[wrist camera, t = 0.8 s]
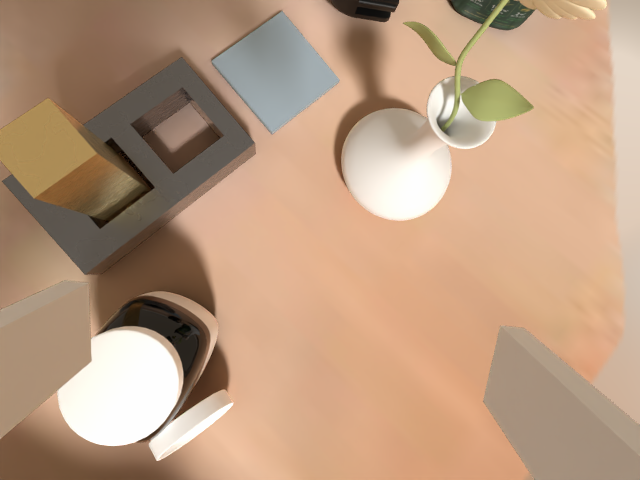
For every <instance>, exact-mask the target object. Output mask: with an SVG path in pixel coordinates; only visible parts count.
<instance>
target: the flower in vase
mask: <svg viewBox="0 0 640 480" xmlns="http://www.w3.org/2000/svg"><path fill="white" fill-rule="evenodd" d="M508 1H509V0H501V1H500V3H499V4H498V5H497V6H496V8H495V9H494V10H493V12H492V13H491V14H490V16H489V17H488V18H487V19H486V21H485V22H484V23H483V25H482V26H481V27H480V29H479V30H478V31H477V32H476V34H475V35H474V36H473V38H472V39H471V40H470V41H469V43H468V44H467V45H466V47H465V48H464V49H463V51H462V52H461V54H460V56H459V58H458V60H457V63H456V61H455V60H454V58H453V57H452V56H451V55H450V53H449V52H448V51H447V49H446V48H445V47H444V45H443V44H442V42H441V41H440V40H439V39H438V37H437V36H436V35H435V34H434V33H433V32H432V31H431V30H430V29H429V28H427V27H426V26H425V25H423V24H421V23H417V22H405V23H403V24H405V25H407V26H408V27H410V28H412V29H413V30H414V31H416V32H417V33H418V34H419V35H420V36H421V38H422V39H423V40H424V41H425V43H426V44H427V45H428V47H429V48H430V50H431V51H432V52H433V54H434V55H435V56H436V57H437V58H438V59H439V60H441V61H443V62H445V63H447V64H450V65H453V66H456V68H455V76H452V77H448V78H446V79H444V80H442V81H440V82H439V83H438V84H437V85H436V86H435V87H434V88H433V90H432V91H431V93H430V95H429V98H428V102H427V117H428V119H427V118H426V117H424V116H422V115H421V114H419V113H417V112H414V111H411V110H408V109H402V108H388V109H383V110H379V111H375V112H373V113H370V114H368V115H367V116H365V117H363V118H362V119H361V120H359V121H358V122H357V123H356V124H355V125H354V126H353V128H352V129H351V131H350V132H349V134H348V135H347V137H346V140H345V142H344V145H343V149H342V156H341V168H342V173H343V177H344V180H345V183H346V185H347V187H348V190H349V191H350V193H351V194H352V196H353V197H354V198H355V200H356V201H357V202H358V203H359V204H360V205H361V206H362V207H363V208H365V209H366V210H367V211H369V212H371V213H372V214H374V215H376V216H379V217H381V218H385V219H389V220H396V221H399V220H410V219H413V218H417V217H419V216H421V215H423V214H425V213H427V212H428V211H430V210H431V209H432V208H433V207H434V206H435V205H436V204H437V203H438V202H439V201H440V199H441V198H442V196H443V195H444V193H445V191H446V189H447V186H448V184H449V181H450V176H451V168H452V163H451V155H450V151H449V147H448V145H450V146H452V147H456V148H461V149H469V148H474V147H477V146H479V145H481V144H483V143H484V142H485V141H486V140H487V139H488V138H489V137H490V136H491V134H492V133H493V131H494V128H495V125H496V121H500V120H505V119H509V118H513V117H516V116H519V115H521V114H523V113H526V112H528V111H530V110H532V109H533V108H534V107H533V106H532V105H531V104H530V103H529V102H528V101H527V100H526V99H525V98H524V97H523V96H522V95H521V94H520V93H518V92H517V91H516V90H515V89H514V88H512V87H511V86H510V85H508V84H507V83H505V82H503V81H501V80H497V79H490V80H487V81H484V82H481V83H479V82H477V81H475V80H473V79H471V78H468V77H464V76H461V67H462V63H463V61H464V58H465V57H466V55H467V53H468V52H469V50H470V49H471V48H472V46H473V45H474V44H475V43H476V41H477V40H478V39H479V38H480V36H481V35H482V34H483V33H484V31H485V30H486V29H487V28H488V26H489V25H490V24H491V22H492V21H493V20H494V19H495V17H496V16H497V15H498V14H499V12H500V11H501V10H502V8H503V7H504V6H505V5H506V3H507V2H508ZM516 1H518V0H516ZM519 1H520V3H521V4H522V5H524V6H525V7H528V8H530V9H534V10H535V9H538V10H539V11H540V12H541V13H542V14H544V15H545V16H547V17H549V18H553V19H560V18H561V17H564V18H566V19H572V20H575V19H577V18H581V19H586V20H591V19H594V18H595V14H594V12H593V11H592V10H602V9H604V8H606V5H607V2H606V0H519Z"/></svg>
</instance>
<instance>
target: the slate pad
mask: <svg viewBox="0 0 640 480" xmlns="http://www.w3.org/2000/svg"><path fill="white" fill-rule="evenodd" d="M212 64H213V66H214V67H215V68H216V69H217V70H218V72H219V73H220V74H221V75H222V76H223V77H224V79H225V80H226V81H227V82H228V83H229V84H230V86H231V87H232V88H233V89H234V90H235V92H236V93H237V94H238V95H239V96H240V97H241V99H242V100H243V101H244V102H245V103H246V105H247V106H248V107H249V108H250V109H251V110H252V112H253V113H254V114H255V115H256V116H257V118H258V119H259V120H260V121H261V122H262V123H263V125H264V126H265V127H266V128H267V129H268V131H269V132H270V133H271V134H273V133H275V132H276V131H277V130H278V129H280V128H281V127H282V126H284V125H285V124H286V123H287V122H289V121H290V120H291V119H293V118H294V117H295V116H296V115H298V114H299V113H300V112H302V111H303V110H304V109H306V108H307V107H308V106H309V105H311V104H312V103H313V102H315V101H316V100H317V99H318V98H320V97H321V96H322V95H324V94H325V93H326V92H327V91H329V90H330V89H331V88H333V87H334V86H335V85H336V84H338V83H339V79H338V77H337V76H336V75H335V74H334V73H333V71H332V70H331V69H330V68H329V67H328V65H327V64H326V63H325V62H324V61H323V59H322V58H321V57H320V56H319V55H318V53H317V52H316V51H315V50H314V49H313V47H312V46H311V45H310V44H309V43H308V41H307V40H306V39H305V38H304V37H303V35H302V34H301V33H300V32H299V31H298V29H297V28H296V27H295V26H294V25H293V23H292V22H291V21H290V20H289V19H288V17H287V16H286V15H285V14H284V13H283V11H281V12H280V13H279V14H277V15H276V16H274V17H273V18H272V19H270V20H269V21H267V22H266V23H264V24H263V25H262V26H260V27H259V28H257V29H256V30H255V31H253V32H252V33H250V34H249V35H247V36H246V37H245V38H243V39H242V40H240V41H239V42H238V43H236V44H235V45H233V46H232V47H230V48H229V49H228V50H226V51H225V52H223V53H222V54H221V55H219V56H218V57H216V58H215V59H213V60H212Z"/></svg>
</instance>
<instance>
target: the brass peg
mask: <svg viewBox="0 0 640 480" xmlns="http://www.w3.org/2000/svg"><path fill="white" fill-rule="evenodd" d="M0 161H1V162H2V163H3V164H4V165H5V167H6V168H7V169H8V170H9V171H10V172H11V173H12V174H13V176H14V177H15V178H16V179H17V180H18V181H19V182H20V183H21V185H22V186H23V187H24V188H25V189H26V190H27V191H28V192H29V194H30V195H31V196H32V197H33V198H34V199H37V200H41V201H44V202H47V203H50V204H54V205H57V206H60V207H63V208H67V209H70V210H73V211H76V212H80V213H83V214H86V215H89V216H93V217H96V218H99V219H102V220H106V221H109V222H110V221H112V220H113V219H114V218H116V217H117V216H118V215H120V214H121V213H122V212H123V211H125V210H126V209H127V208H129V207H130V206H131V205H133V204H134V203H135V202H137V201H138V200H139V199H141V198H142V197H143V196H145V195H146V194H147V193H149V192H150V191H151V190H152V189H151V188H150V187H149V186H148V185H147V184H146V183H145V181H144V180H143V179H142V178H141V177H140V176H139V175H138V173H137V172H136V171H135V170H134V169H133V168H132V166H131V165H130V164H129V163H128V162H127V161H126V160H125V158H124V157H122V156H121V155H120V154H119V153H117V152H116V151H115V150H113V149H112V148H111V147H110V146H108V145H107V144H106V143H105V142H103V141H102V140H101V139H100V138H98V137H97V136H96V135H95V134H93V133H92V132H91V131H90V130H88V129H87V128H86V127H85V126H83V125H82V124H81V123H79V122H78V121H77V120H76V119H74V118H73V117H72V116H71V115H69V114H68V113H67V112H66V111H64V110H63V109H62V108H61V107H59V106H58V105H57V104H56V103H54V102H53V101H52V100H51V99H49V98H47V99H46V100H44V101H43V102H41V103H40V104H38V105H37V106H35V107H34V108H32V109H31V110H29V111H27V112H26V113H24V114H23V115H21V116H20V117H18V118H17V119H15V120H14V121H12V122H11V123H9V124H8V125H6V126H5V127H3V128H2V129H0Z"/></svg>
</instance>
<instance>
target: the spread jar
mask: <svg viewBox="0 0 640 480" xmlns="http://www.w3.org/2000/svg"><path fill="white" fill-rule="evenodd" d="M217 336H218V323H217V320H216V319H215V317H214V316H213V315H212V314H211V313H210V312H209V311H208V310H206V309H205V308H204V307H202V306H201V305H199V304H198V303H196V302H194V301H193V300H191V299H188V298H186V297H184V296H181V295H178V294H174V293H170V292H165V291H155V292H150V293H146V294H142V295H139V296H137V297H135V298H133V299H131V300H130V301H128V302H127V303H126V304H125V305H123V306H122V307H121V308H120V309H118V310H117V311H116V312H115V313H114V314H113V315H112V316H111V317H110V318H109V320H108V321H107V322H106V323H105V324H104V325H103V326H102V327H101V329H100V330H99V331H98V332H97V333H96V335H95V336H94V337H92V338H91V357H92V361H91V362H90V363H89V364H88V365H87V366H86V367H84V368H83V369H82V370H81V371H80V372H79V373H77V374H76V375H75V376H74V377H73V378H72V379H70V380H69V381H68V382H67V383H66V384H64V385H63V386H62V387H61V388H60V389H59V390H58V395H57V396H58V402H59V408H60V410H61V413H62V415H63V418H64V419H65V421H66V422H67V424H68V425H69V427H70V428H71V429H72V430H74V431H75V432H76V433H77V434H78V435H79V436H81V437H83V438H84V439H86V440H88V441H90V442H93V443H96V444H99V445H107V446H118V445H126V444H130V443H133V442H136V443H140V442H147V441H150V440H151V442H150V443H149V447H150V449H151V451H152V453H153V455H154V457H155V458H156V460H157V461H158V460H161V459H163V458H165V457H166V456H168V455H170V454H171V453H173V452H174V451H176V450H177V449H179V448H180V447H182V446H183V445H185V444H186V443H187V442H189V441H190V440H191V439H193V438H194V437H196V436H197V435H198V434H200V433H201V432H202V431H203V430H205V429H206V428H207V427H209V426H210V425H211V424H212V423H214V422H215V421H216V420H217V419H218V418H220V417H221V416H222V415H223V414H224V413H225V412H226V411H227V410H228V409H229V408H230V407H231V406H232V405H233V404H234V402H233V401H232V399H231V397H230V396H229V394H228V393H227V391H226V390H225V389H224V390H220V391H218V392H216V393H214V394H212V395H211V396H209V397H207V398H205V399H204V400H202V401H201V402H199V403H198V404H196V405H195V406H193V407H192V408H190V409H189V410H187V411H186V412H185V413H183V414H182V415H181V416H179V417H178V418H176V419H175V420H174V421H173V422H171V421H172V420H173V418H174V417H175V416H176V414H177V413H178V411H179V410H180V409H181V407H182V406H183V404H184V403H185V401H186V400H187V398H188V396H189V395H190V393H191V391H192V390H193V388H194V386H195V385H196V383H197V381H198V380H199V378H200V376H201V375H202V373H203V371H204V369H205V367H206V365H207V363H208V361H209V359H210V357H211V354H212V352H213V349H214V346H215V343H216V340H217ZM170 422H171V423H170Z"/></svg>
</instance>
